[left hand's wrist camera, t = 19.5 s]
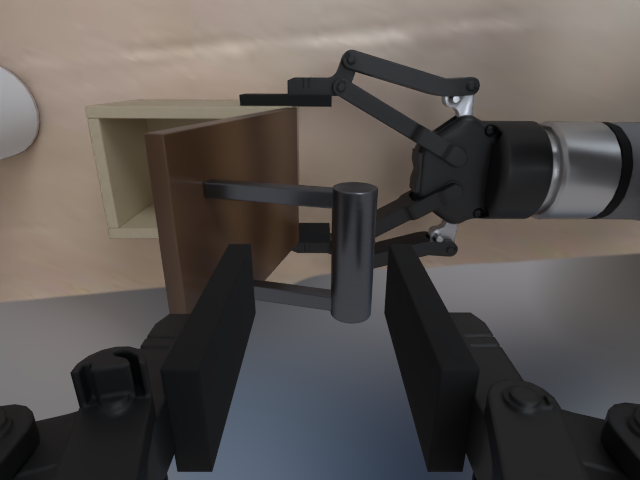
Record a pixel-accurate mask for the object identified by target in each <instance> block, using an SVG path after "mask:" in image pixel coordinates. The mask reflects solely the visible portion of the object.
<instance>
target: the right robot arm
mask: <svg viewBox="0 0 640 480" xmlns="http://www.w3.org/2000/svg"><path fill="white" fill-rule="evenodd" d="M355 72H358V73H361V74H364V75H368V76H371V77H374V78H377V79H381V80H384V81H387V82H391V83H394V84H397V85H400V86H404V87H407V88H410V89H413V90H417V91H420V92H423V93H427V94H431V95H437V96H442V103H443V104H444V105H445V106H447V107H451V108H453V110H454V111H455V116H454V117H452V118H451V119H449V120H448V121H446V122H445V123H444V124H442V125H441V126H439V127H438V128H436V129H435V130H433V131H430V130H428V129H427V128H425V127H423V126H422V125H420V124H418V123H417V122H415V121H413V120H412V119H410V118H408V117H407V116H405V115H403V114H402V113H400V112H398V111H397V110H395V109H394V108H392V107H390V106H389V105H387V104H385V103H384V102H382V101H380V100H379V99H377V98H376V97H374V96H372V95H371V94H369V93H367V92H366V91H364V90H362V89H361V88H359V87H358V86H356V85H354V84H353V83H351V82H352V80H353V77H354V74H355ZM479 87H480V84H479V81H478V79H476V78H474V77H459V78H442V77H439V76H436V75H433V74H429V73H426V72H423V71H420V70H417V69H413V68H410V67H407V66H404V65H400V64H397V63H394V62H391V61H387V60H384V59H381V58H378V57H375V56H371V55H368V54H365V53H362V52H358V51H355V50H349V51H347V52H345V53H344V55H343V56H342V58H341V61H340V64H339V67H338V70H337V72H336V73H335V75H333V76H332V77H329V78H293V79H290V80H288V94H242V95H240V106H326V107H331V102H332V96H339V97H341V98H343V99H344V100H346V101H348V102H349V103H351V104H353V105H354V106H356V107H358V108H359V109H361V110H363V111H364V112H366V113H368V114H369V115H371V116H373V117H374V118H376V119H378V120H379V121H381V122H383V123H384V124H386V125H388V126H389V127H391V128H393V129H394V130H396V131H398V132H399V133H401V134H403V135H404V136H406V137H408V138H409V139H411V140H413V141H414V142H416V143H417V145H416V146H415V149H413V151H412V161H413V167H414V168H413V171H412V174H411V177H410V188H411V190H410V191H408V192H406V193H404V194H403V195H401V196H400V197H399V198H398V199H397V200H395V201H393V202H391V203H389V204H387V205H385V206H383V207H382V208H380V209H378V210H377V212H376V230H375V237H377V236H379V235H381V234H383V233H385V232H387V231H389V230H391V229H393V228H395V227H397V226H399V225H401V224H403V223H405V222H407V221H409V220H415V219H418V218H420V217H422V216H424V215H426V214H428V213H430V212H434V213H435V214H436V215H438V216H439V217H440V218H442V219H443V221H442V222H441V224H439V225H437V226H432V227H430V228H429V230H428V231H424V232H416V233H412V234H408V235H404V236H400V237H396V238H392V239H388V240H384V241H380V242H376V243H375V247H374V265H373V268H377V267H381V266H385V265H388V251H389V244H411V245H412V246H413V248H414V250H415V252H416V254H417V256H418V257H422V256H426V255H436V256H453V255H455V254H456V253H457V251H458V247H457V245H456V244H455V243H454V240H455V235H456V231H457V226H458V224H459V223H462V222H464V221H466V220H468V219H472V218H482V219H525V218H528V217H530V216H531V217H533V218H536V219H580V218H586V219H633V220H640V122H629V123H609V122H557V121H548V122H542V123H540V124H538V123H537V122H534V121H481V120H479V119H477V118H476V117H474V116H472V112H473V95H474V94H475V93H477V91H478V90H479ZM292 251H294V252H297V253H329V254H331V255H332V233H330V228H329V223H299V242H298V243H297V244H296V246H295V247H294V248H293V249H292Z"/></svg>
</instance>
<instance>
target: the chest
mask: <svg viewBox="0 0 640 480" xmlns="http://www.w3.org/2000/svg"><path fill="white" fill-rule="evenodd" d="M286 107H289V108H297V151H298V185H299V132H298V106H240V100H132V101H124V102H115V103H107V104H98V105H90V106H85V110H86V115H87V118H88V125H89V130H90V136H91V141H92V146H93V151H94V156H95V162H96V167H97V172H98V177H99V183H100V188H101V193H102V198H103V204H104V209H105V214H106V219H107V225H108V231H109V236H110V238H159V236H158V229H157V222H156V216H155V209H154V202H153V195H152V188H151V181H150V174H149V167H148V161H147V154H146V147H145V140H144V133H148V132H154V131H159V130H165V129H170V128H176V127H181V126H187V125H192V124H198V123H203V122H209V121H214V120H220V119H225V118H231V117H236V116H242V115H247V114H253V113H258V112H264V111H269V110H275V109H280V108H286ZM298 212H299V206H298Z"/></svg>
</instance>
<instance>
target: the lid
mask: <svg viewBox="0 0 640 480" xmlns="http://www.w3.org/2000/svg"><path fill="white" fill-rule="evenodd" d="M144 140H145V147H146V154H147V161H148V167H149V174H150V181H151V188H152V195H153V202H154V209H155V216H156V222H157V229H158V236H159V243H160V250H161V257H162V264H163V271H164V277H165V284H166V291H167V298H168V305H169V312H170V314H191V312H192V310H193V309H194V307H195V305H196V303H197V301H198V299H199V298H200V296H201V294H202V292H203V290H204V289H205V287H206V285H207V283H208V281H209V279H210V278H211V276H212V274H213V272H214V270H215V268H216V267H217V265H218V263H219V261H220V259H221V257H222V256H223V254H224V252H225V250H226V248H227V246H228V245H229V244H251V251H252V266H253V281H254V297H255V300H260V301H268V302H274V303H281V304H288V305H295V306H302V307H309V308H316V309H322V310H329V311H331V315H332V316H333V317H334V318H335V319H336V320H338V321H341V322H344V323H360V322H363V321H365V320H367V319H368V318H369V317H370V314H371V300H372V283H373V265H374V247H375V230H376V212H377V194H378V189H377V187H376V186H374V185H371V184H367V183H359V182H347V183H340V184H337V185H334V186H333V188H332V187H318V186H303V185H298V151H297V108H289V107H286V108H280V109H275V110H269V111H264V112H258V113H253V114H247V115H242V116H236V117H231V118H225V119H220V120H214V121H209V122H203V123H198V124H192V125H187V126H181V127H176V128H170V129H165V130H159V131H154V132H148V133H144ZM298 206H309V207H321V208H332V257H331V290H329V289H321V288H314V287H306V286H299V285H291V284H283V283H276V282H268V281H265V280H266V279H267V277H268V276H269V275H270V274H271V273H272V272H273V271H274V269H275V268H276V267H277V266H278V265H279V264H280V263H281V262H282V260H283V259H284V258H285V257H286V256H287V255H288V254H289V252H290V251H291V250H292V249H293V248H294V247H295V246H296V244H297V243H298V242H299V219H298Z"/></svg>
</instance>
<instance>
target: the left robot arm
mask: <svg viewBox="0 0 640 480" xmlns="http://www.w3.org/2000/svg"><path fill="white" fill-rule="evenodd" d="M255 313H256V312H255V297H254V281H253V266H252V251H251V244H229V245H228V246H227V248H226V250H225V252H224V254H223V256H222V257H221V259H220V261H219V263H218V265H217V267H216V268H215V270H214V272H213V274H212V276H211V278H210V279H209V281H208V283H207V285H206V287H205V289H204V290H203V292H202V294H201V296H200V298H199V299H198V301H197V303H196V305H195V307H194V309H193V310H192V312H191V314H169V315H168V316H166V317H165V318H163V319H162V320H160V321H159V322H158V323H156V324H155V326H154V327H153V328H152V330H151V332H150V333H149V335H148V336H147V339H145V340H144V342H143V343H142V345H141V348H140V349H137V348H133V347H113V348H109V349H105V350H101V351H99V352H96V353H94V354H92V355H90V356H88V357H86V358H85V359H84V360H82V361H81V362H79V363H78V364H77V365H76V366H75V368H74V369H73V370H72V372H71V377H72V380H73V384H74V388H75V391H76V395H77V399H78V403H79V406H80V408H79V411H77V412H74V413H70V414H67V415H62V416H58V417H53V418H49V419H45V420H40V421H35V418H34V415H33V412H32V411H31V410H30V409H29V408H28V407H26V406H22V405H16V404H14V405H6V406H0V480H168V476H167V472H168V469H169V466H170V464H171V461H172V459H173V456H174V454H175V459H176V466H177V471H178V472H212V470H213V467H214V463H215V460H216V456H217V452H218V448H219V445H220V441H221V438H222V434H223V430H224V426H225V423H226V419H227V416H228V412H229V408H230V405H231V401H232V397H233V394H234V390H235V386H236V383H237V379H238V375H239V372H240V368H241V364H242V361H243V357H244V353H245V350H246V346H247V343H248V339H249V335H250V332H251V328H252V324H253V321H254V317H255ZM384 313H385V317H386V320H387V324H388V328H389V332H390V335H391V339H392V343H393V346H394V350H395V353H396V357H397V361H398V364H399V368H400V372H401V375H402V379H403V383H404V386H405V390H406V394H407V397H408V401H409V405H410V408H411V412H412V416H413V419H414V423H415V427H416V430H417V434H418V438H419V441H420V445H421V449H422V452H423V456H424V460H425V463H426V467H427V470H428V472H462V471H463V466H464V460H465V454H467V456H468V459H469V462H470V464H471V467H472V469H473V476H472V480H640V404H633V403H620V404H615V405H613V406H612V407H611V408H610V409H609V410H608V412H607V415H606V418H605V420H603V419H599V418H595V417H590V416H586V415H581V414H577V413H573V412H569V411H566V410H563V409H561V408H560V406H559V404H558V403H557V401H556V400H555V398H554V397H553V396H551V395H550V394H549V393H548V392H547V391H545V390H544V389H542V388H540V387H538V386H536V385H534V384H532V383H530V382H526V381H524V380H523V379H522V377H521V376H520V374H519V373H518V371H517V370H516V369H515V367H514V366H513V364H512V363H511V361H510V360H509V358H508V357H507V355H506V354H505V352H504V351H503V349H502V348H501V347H500V345H499V343H498V342H497V340H496V339H495V337H493V334H492V333H491V331H490V330H489V328H488V327H487V325H486V324H485V323H484V322H483V321H482V320H480V319H479V318H477V317H476V316H474V315H473V314H472V313H449V312H448V310H447V309H446V307H445V305H444V303H443V301H442V300H441V298H440V296H439V294H438V292H437V290H436V289H435V287H434V285H433V283H432V281H431V279H430V278H429V276H428V274H427V272H426V270H425V268H424V267H423V265H422V263H421V261H420V259H419V257H418V256H417V254H416V252H415V250H414V248H413V246H412V245H411V244H389V251H388V266H387V282H386V297H385V312H384Z"/></svg>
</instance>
